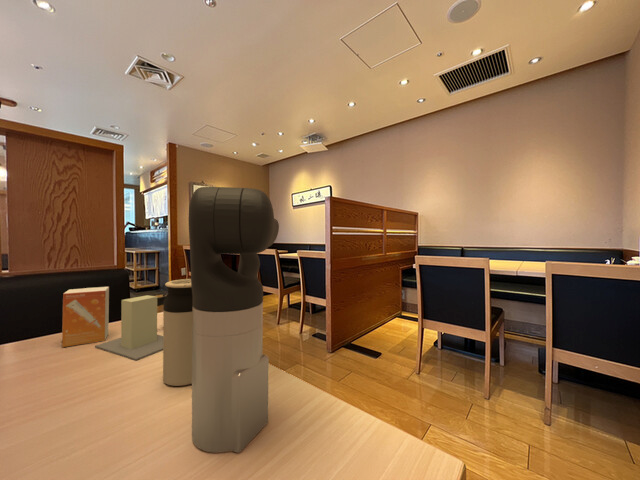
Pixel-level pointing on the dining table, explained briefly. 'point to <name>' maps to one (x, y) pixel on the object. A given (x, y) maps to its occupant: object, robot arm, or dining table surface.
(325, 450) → the dining table surface
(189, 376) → the travel mug
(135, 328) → the tall tan pillar block
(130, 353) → the rubber mat
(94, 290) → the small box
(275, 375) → the dining table surface
